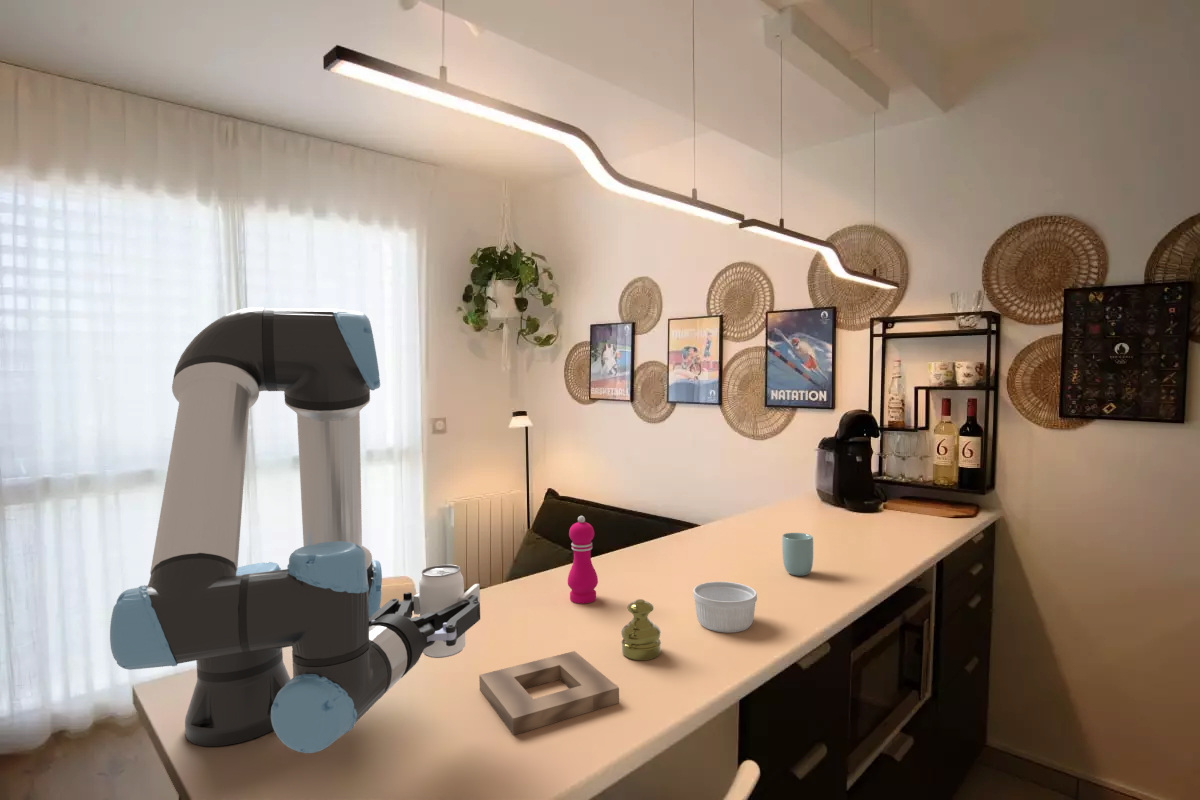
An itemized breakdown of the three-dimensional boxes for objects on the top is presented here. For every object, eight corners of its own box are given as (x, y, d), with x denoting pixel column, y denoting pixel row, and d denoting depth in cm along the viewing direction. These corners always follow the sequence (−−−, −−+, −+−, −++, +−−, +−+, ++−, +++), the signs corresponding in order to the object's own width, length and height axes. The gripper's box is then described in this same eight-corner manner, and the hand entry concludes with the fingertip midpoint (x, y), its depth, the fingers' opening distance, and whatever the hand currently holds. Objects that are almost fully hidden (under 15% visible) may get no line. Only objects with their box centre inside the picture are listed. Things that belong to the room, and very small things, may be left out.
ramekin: (758, 614, 137) (757, 583, 137) (756, 638, 124) (755, 603, 124) (697, 609, 141) (696, 579, 140) (689, 632, 128) (689, 599, 128)
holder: (513, 735, 92) (513, 718, 92) (479, 689, 106) (479, 674, 106) (619, 702, 100) (618, 687, 100) (575, 664, 114) (574, 650, 114)
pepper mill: (571, 606, 144) (569, 520, 144) (565, 596, 151) (563, 514, 151) (601, 602, 146) (600, 517, 146) (593, 592, 153) (592, 511, 153)
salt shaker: (615, 648, 121) (614, 597, 121) (650, 642, 124) (649, 592, 123) (631, 664, 114) (630, 610, 114) (667, 657, 117) (666, 604, 116)
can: (448, 637, 98) (446, 561, 98) (474, 647, 94) (472, 568, 94) (412, 651, 93) (409, 571, 93) (438, 663, 89) (435, 579, 89)
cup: (809, 569, 168) (809, 532, 168) (816, 578, 160) (816, 539, 160) (780, 569, 169) (779, 532, 169) (785, 578, 161) (785, 539, 161)
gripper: (309, 680, 77) (399, 612, 100) (457, 689, 74) (515, 617, 97) (307, 620, 77) (398, 566, 100) (455, 627, 74) (514, 569, 97)
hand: (455, 591), depth 98 cm, fingers closed on can, 6 cm apart
